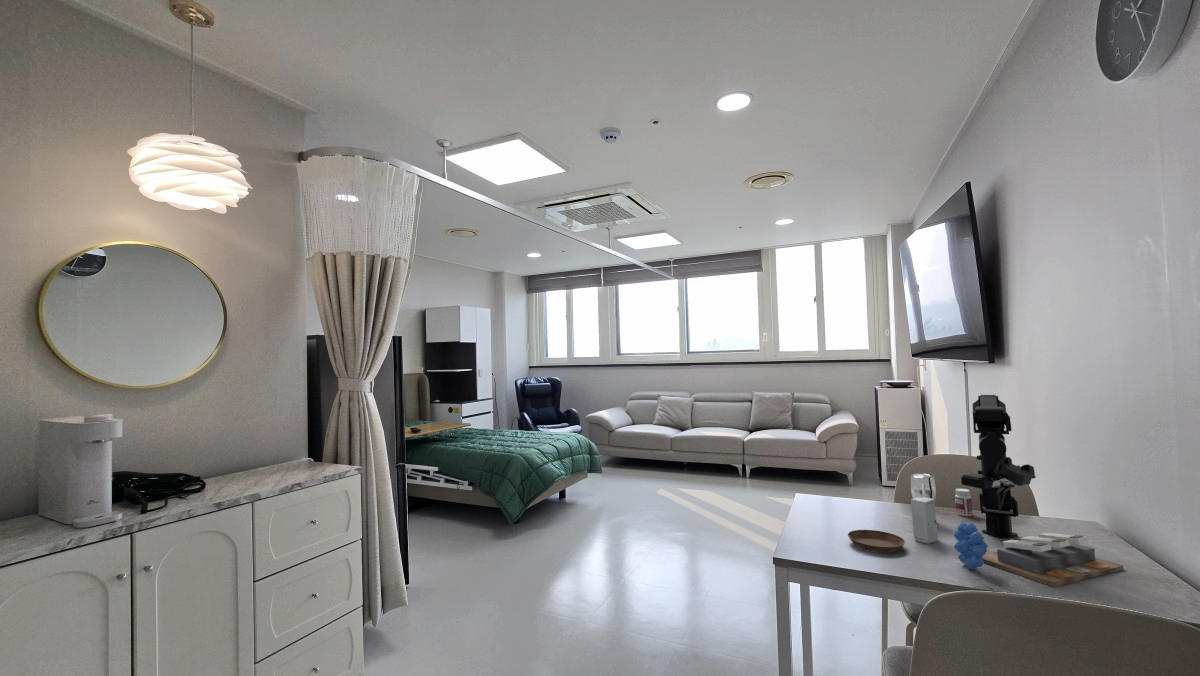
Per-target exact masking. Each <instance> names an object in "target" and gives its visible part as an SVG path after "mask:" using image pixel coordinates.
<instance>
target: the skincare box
mask: <svg viewBox="0 0 1200 676" xmlns="http://www.w3.org/2000/svg"><path fill="white" fill-rule="evenodd" d="M935 505H936V503H935V504H934V499H931V498H925V497H918V498H914V499H913V498H911V499H910V507H911V509H910V510H911V520H912V530H913V540H914V541H915V542H919V543H924V544H931V543H934V542H936V541H938V539H939V536H938V527H937V524H938V523H937V517H936V516H937V515H936V507H935Z"/></svg>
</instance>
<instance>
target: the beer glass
mask: <svg viewBox="0 0 1200 676" xmlns="http://www.w3.org/2000/svg"><path fill="white" fill-rule="evenodd" d="M936 491H937V489H936V482H935V476H934V475H932V474H926V473H912V474H910V492H911V496H912V499H914V498H918V497H925V498H931V499H934V504H935V505H936V493H937V492H936Z"/></svg>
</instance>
